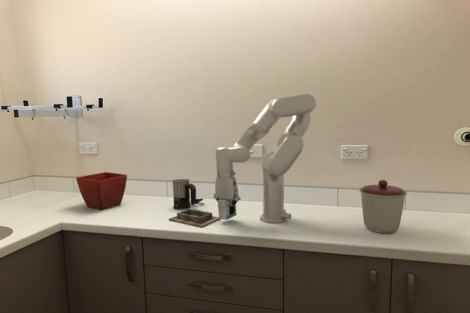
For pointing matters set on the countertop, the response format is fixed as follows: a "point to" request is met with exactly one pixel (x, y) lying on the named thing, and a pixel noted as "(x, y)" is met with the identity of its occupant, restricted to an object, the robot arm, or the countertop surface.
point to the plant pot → (102, 189)
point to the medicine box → (225, 209)
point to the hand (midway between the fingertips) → (227, 212)
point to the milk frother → (184, 194)
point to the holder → (194, 218)
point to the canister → (382, 207)
